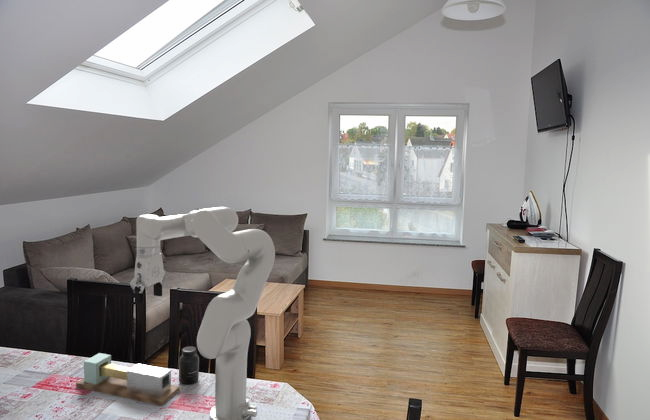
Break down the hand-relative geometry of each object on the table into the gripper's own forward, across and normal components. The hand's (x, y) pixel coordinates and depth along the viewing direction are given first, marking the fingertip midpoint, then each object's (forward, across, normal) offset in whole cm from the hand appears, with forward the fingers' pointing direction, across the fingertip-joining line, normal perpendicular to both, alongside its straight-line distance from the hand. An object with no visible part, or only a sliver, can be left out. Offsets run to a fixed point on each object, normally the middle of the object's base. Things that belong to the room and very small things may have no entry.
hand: (148, 299), depth 154 cm
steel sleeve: (+29, -6, -4) cm, 30 cm away
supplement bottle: (+31, +6, -12) cm, 33 cm away
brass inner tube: (+26, -6, +6) cm, 28 cm away
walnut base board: (+30, -6, +4) cm, 31 cm away
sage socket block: (+29, -6, +16) cm, 34 cm away
